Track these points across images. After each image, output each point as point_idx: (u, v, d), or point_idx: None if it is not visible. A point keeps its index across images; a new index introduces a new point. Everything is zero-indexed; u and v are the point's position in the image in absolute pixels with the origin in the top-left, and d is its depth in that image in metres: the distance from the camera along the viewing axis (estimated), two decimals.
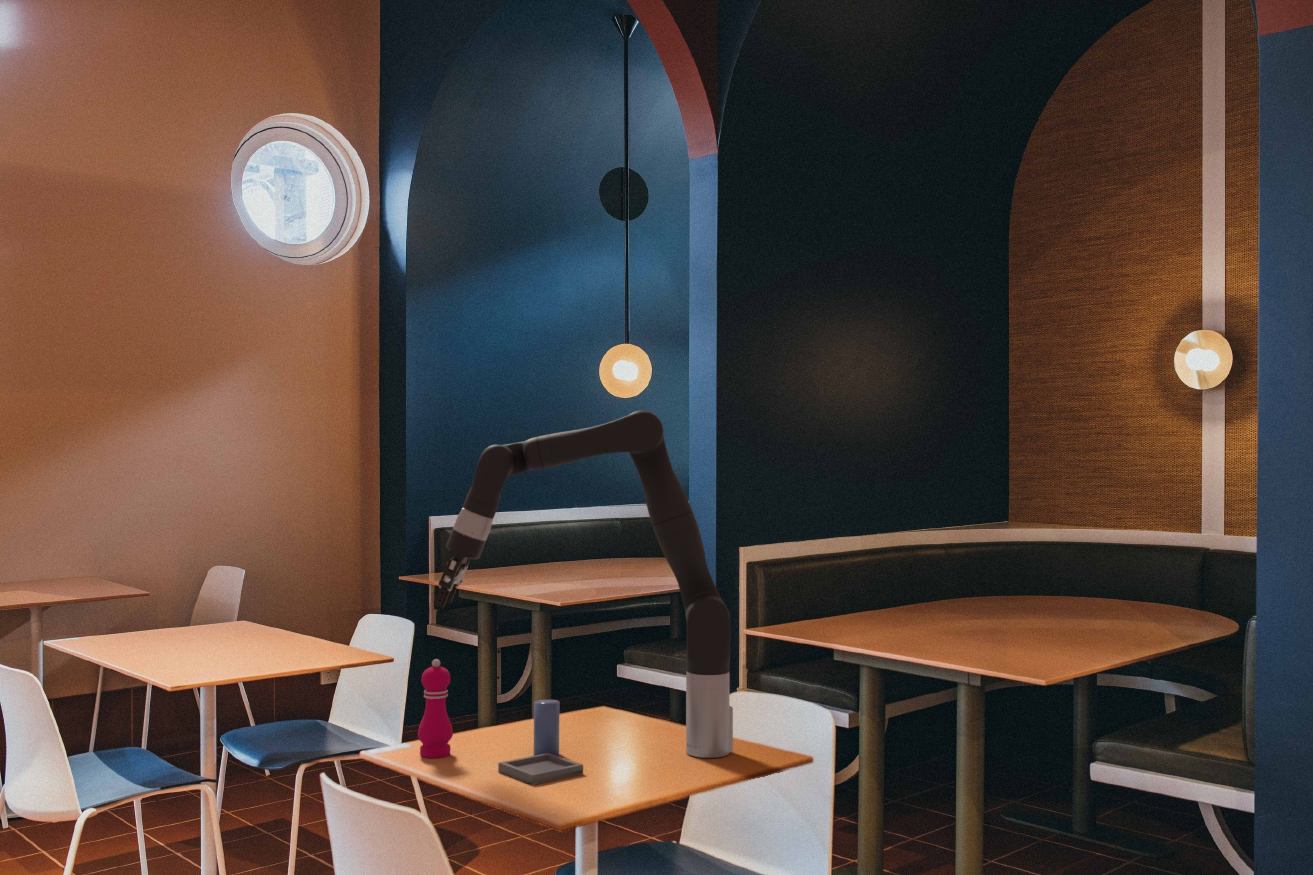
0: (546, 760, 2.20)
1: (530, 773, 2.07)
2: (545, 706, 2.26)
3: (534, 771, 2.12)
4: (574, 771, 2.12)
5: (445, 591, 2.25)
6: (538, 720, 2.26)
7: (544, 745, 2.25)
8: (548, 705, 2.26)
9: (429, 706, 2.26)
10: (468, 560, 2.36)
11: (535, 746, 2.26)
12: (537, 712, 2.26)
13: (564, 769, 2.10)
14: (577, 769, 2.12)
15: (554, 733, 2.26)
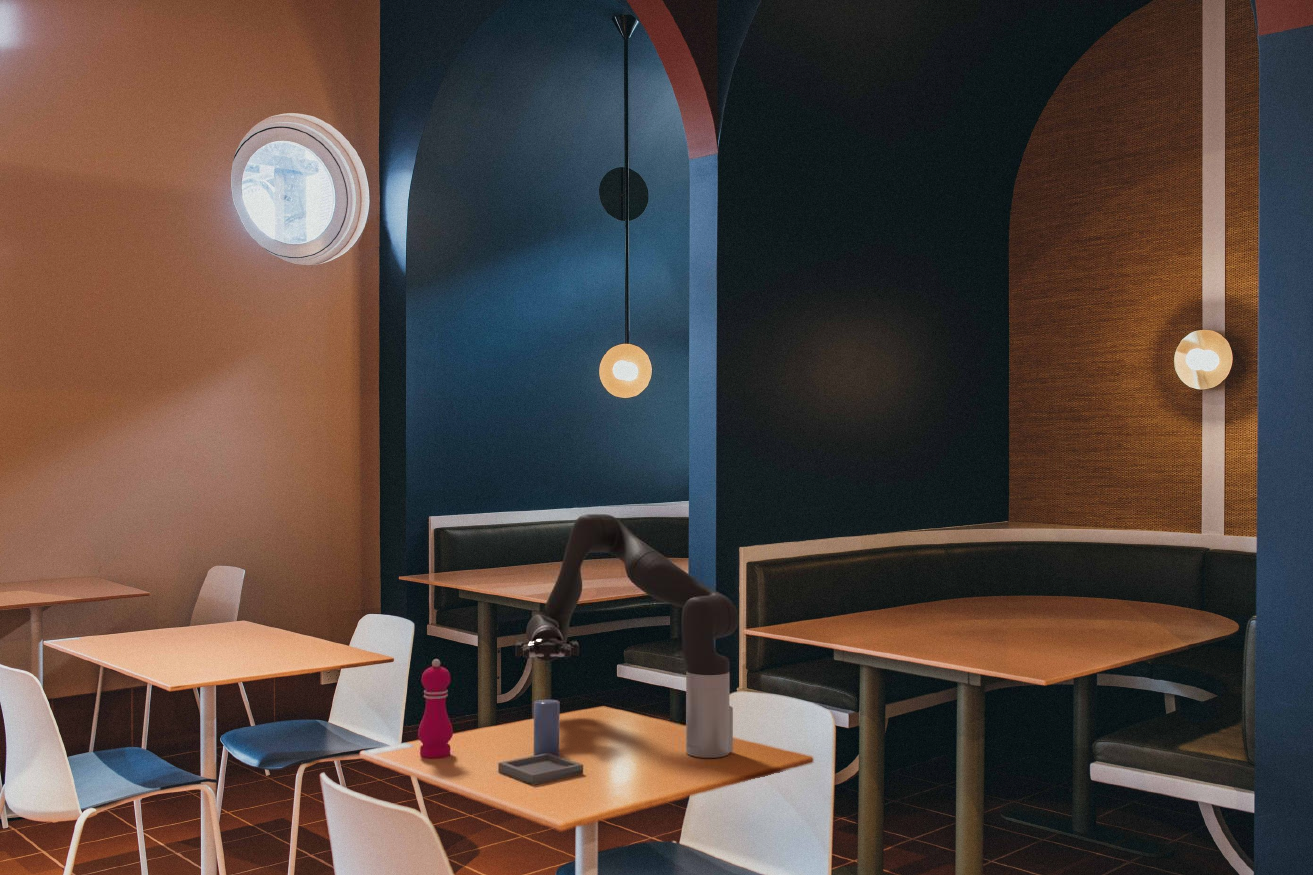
0: (546, 760, 2.20)
1: (530, 773, 2.07)
2: (545, 706, 2.26)
3: (534, 771, 2.12)
4: (574, 771, 2.12)
5: (523, 649, 2.43)
6: (538, 720, 2.26)
7: (544, 745, 2.25)
8: (548, 705, 2.26)
9: (429, 706, 2.26)
10: None
11: (535, 746, 2.26)
12: (537, 712, 2.26)
13: (564, 769, 2.10)
14: (577, 769, 2.12)
15: (554, 733, 2.26)
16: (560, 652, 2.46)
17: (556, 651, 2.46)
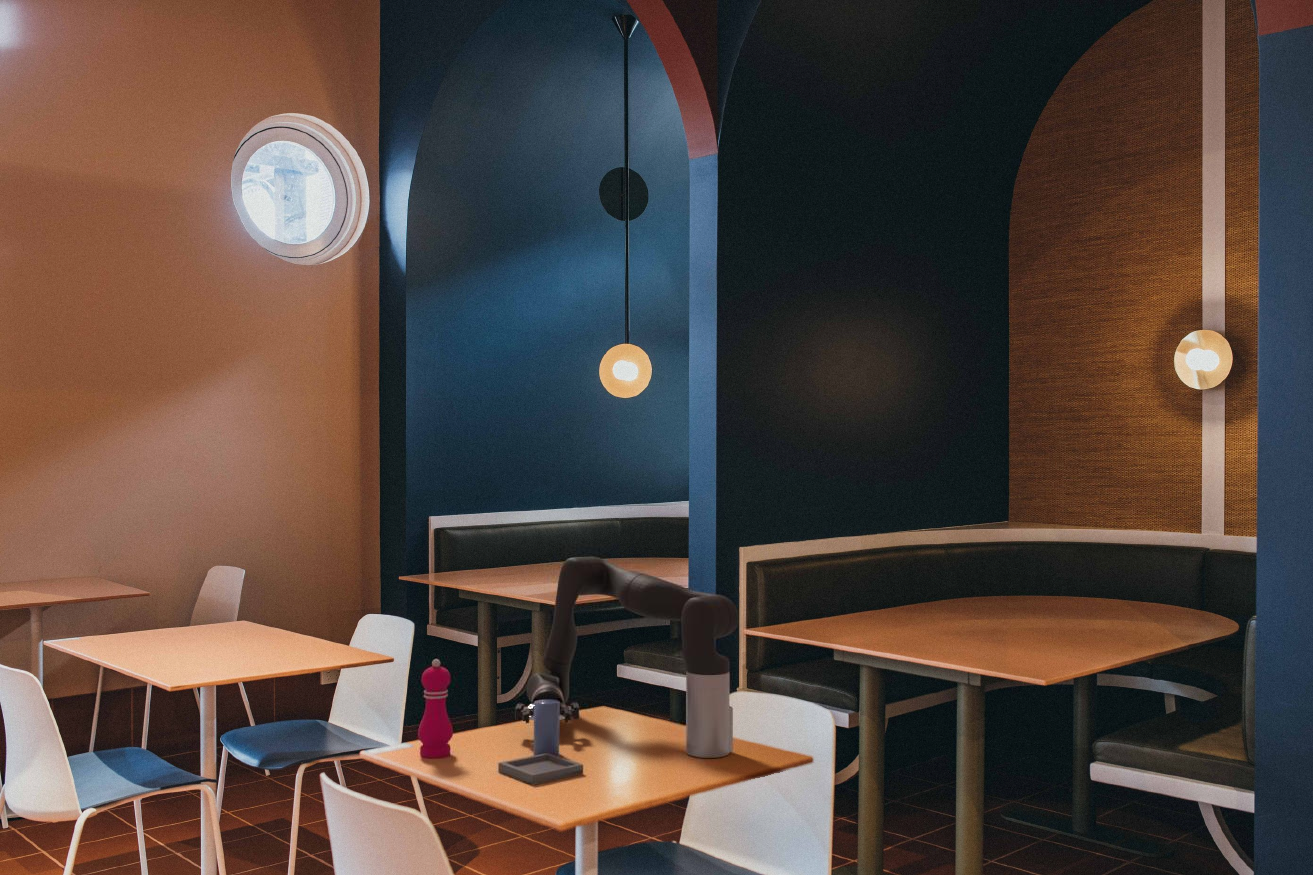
0: (546, 760, 2.20)
1: (530, 773, 2.07)
2: (545, 706, 2.26)
3: (534, 771, 2.12)
4: (574, 771, 2.12)
5: (522, 713, 2.39)
6: (538, 720, 2.26)
7: (544, 745, 2.25)
8: (548, 705, 2.26)
9: (429, 706, 2.26)
10: (572, 703, 2.46)
11: (535, 746, 2.26)
12: (537, 712, 2.26)
13: (564, 769, 2.10)
14: (577, 769, 2.12)
15: (554, 733, 2.26)
16: (561, 715, 2.41)
17: None
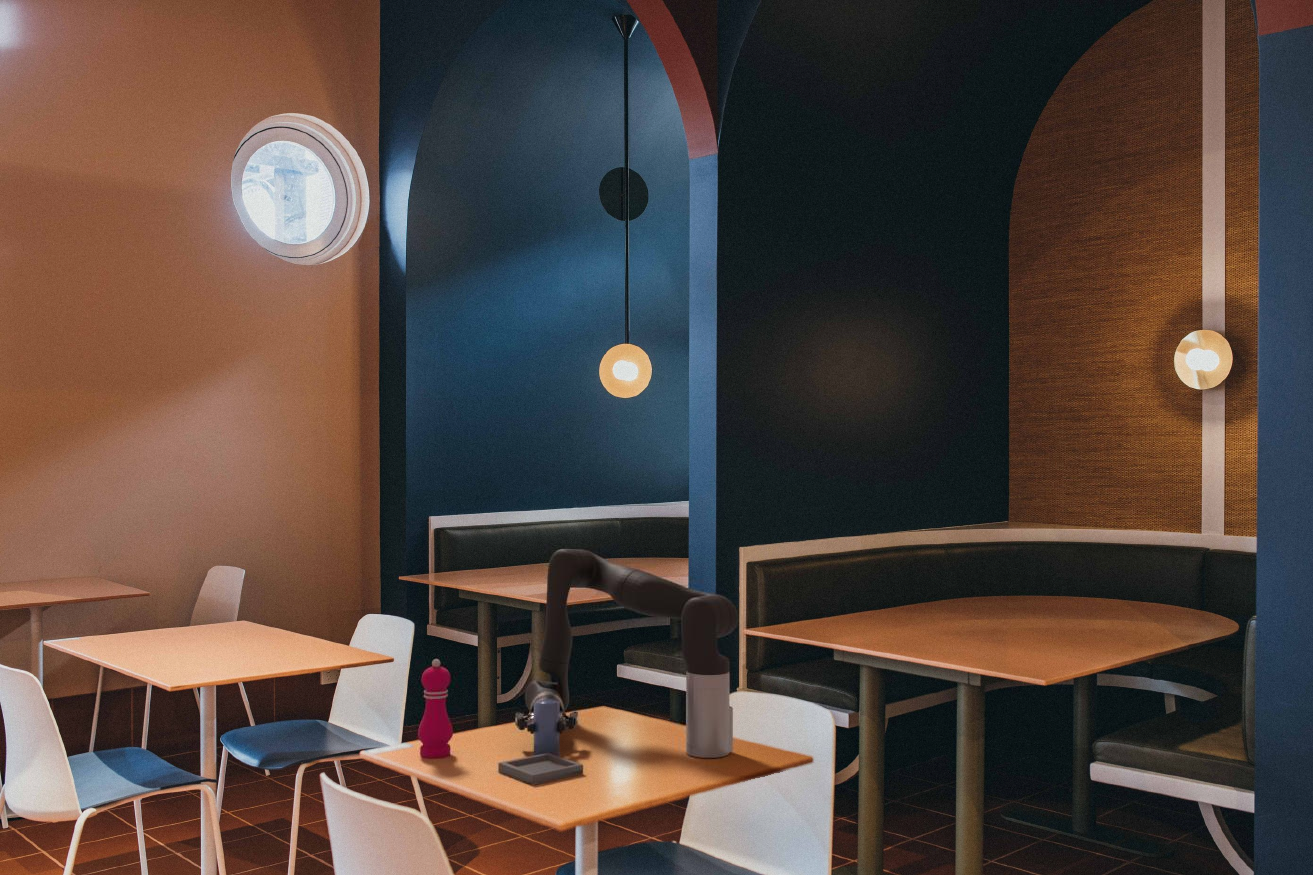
0: (546, 760, 2.20)
1: (530, 773, 2.07)
2: (545, 706, 2.26)
3: (534, 771, 2.12)
4: (574, 771, 2.12)
5: (527, 722, 2.29)
6: (538, 720, 2.26)
7: (544, 745, 2.25)
8: (548, 705, 2.26)
9: (429, 706, 2.26)
10: (572, 712, 2.36)
11: (535, 746, 2.26)
12: (537, 712, 2.26)
13: (564, 769, 2.10)
14: (577, 769, 2.12)
15: (554, 733, 2.26)
16: None
17: None
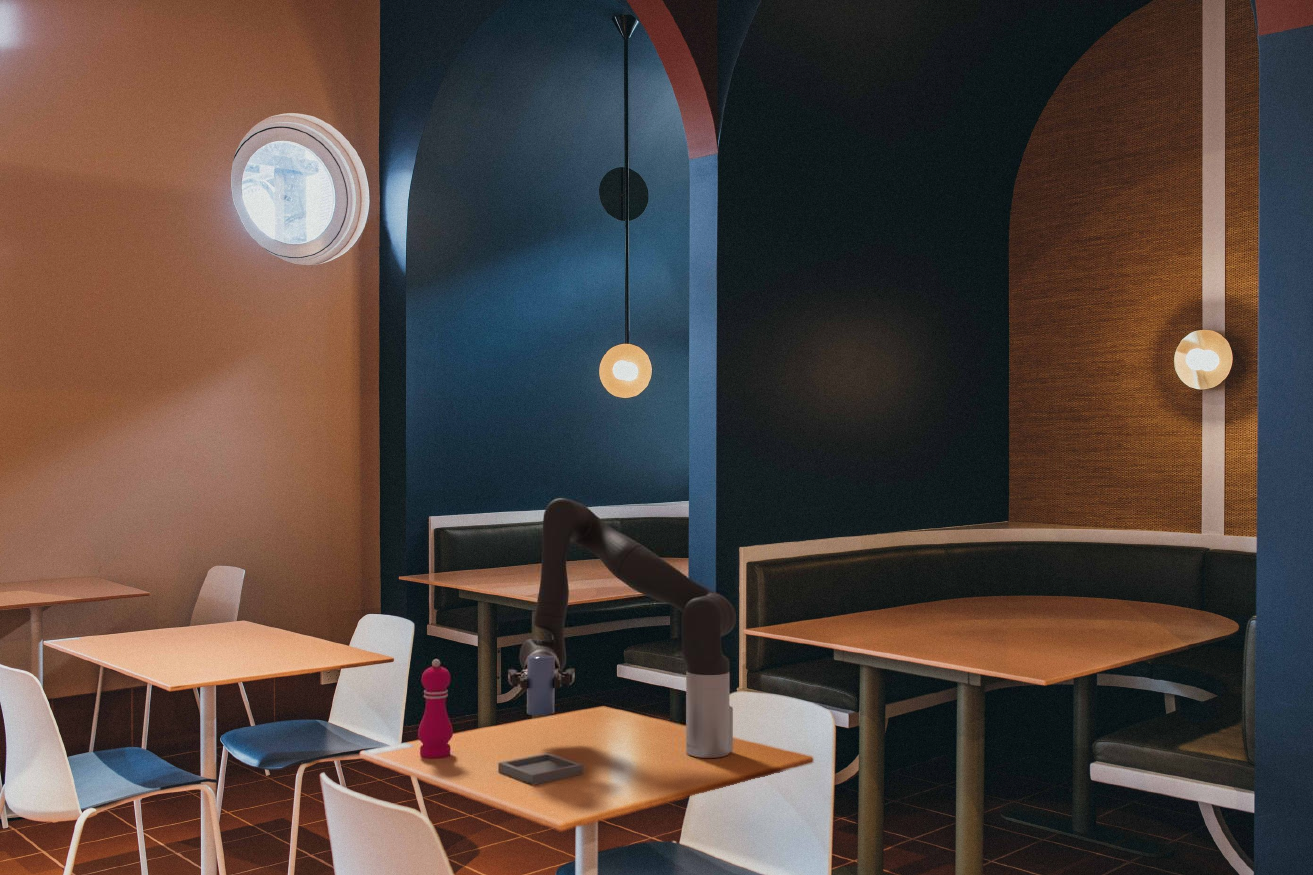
0: (546, 760, 2.20)
1: (530, 773, 2.07)
2: (539, 660, 2.12)
3: (534, 771, 2.12)
4: (574, 771, 2.12)
5: (520, 679, 2.15)
6: (531, 675, 2.12)
7: (538, 702, 2.12)
8: (542, 659, 2.12)
9: (429, 706, 2.26)
10: (568, 669, 2.22)
11: (528, 703, 2.13)
12: (530, 667, 2.13)
13: (564, 769, 2.10)
14: (577, 769, 2.12)
15: (549, 689, 2.13)
16: None
17: None
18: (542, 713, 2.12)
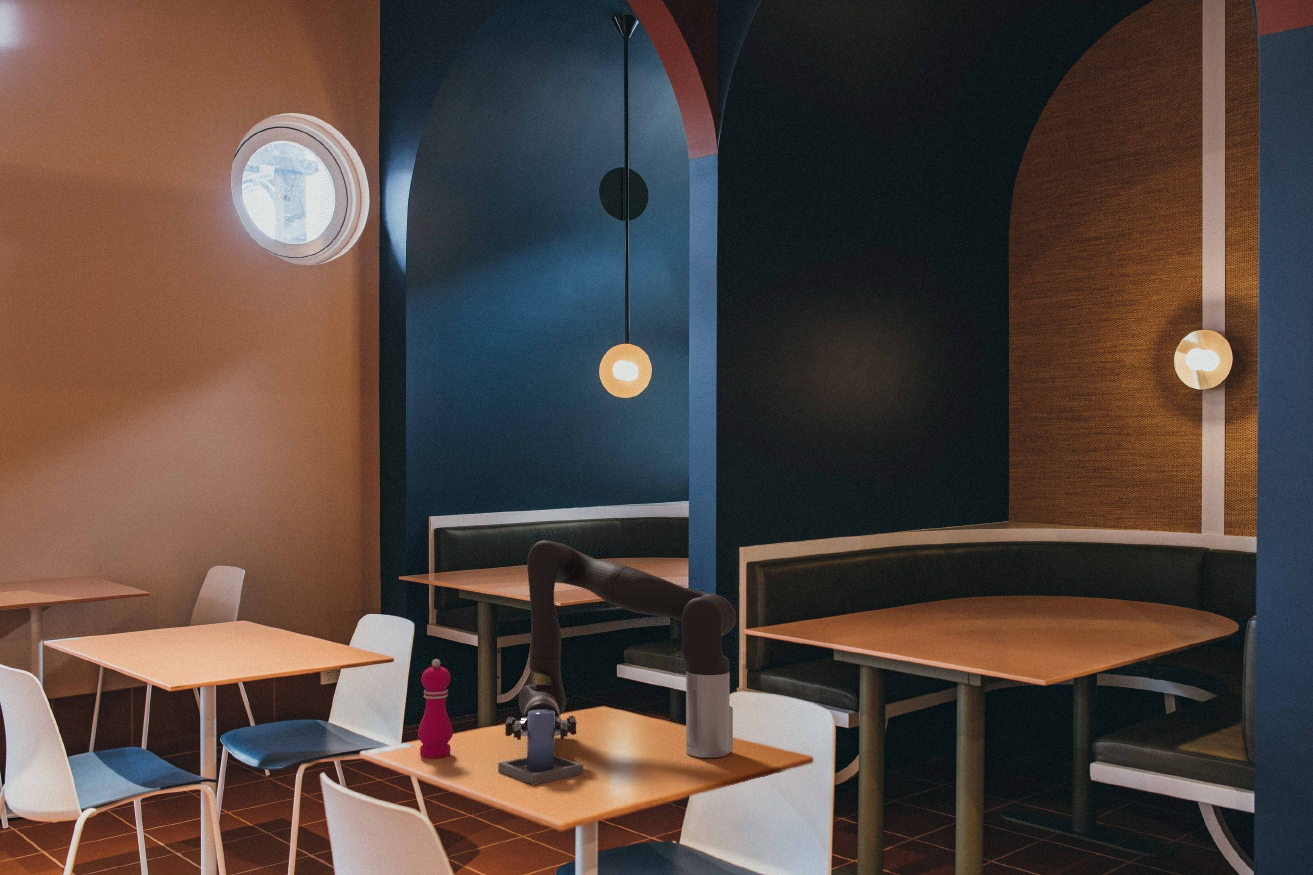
0: None
1: (530, 773, 2.07)
2: (540, 716, 2.12)
3: None
4: (574, 771, 2.12)
5: (513, 728, 2.15)
6: (532, 731, 2.12)
7: (538, 758, 2.11)
8: (543, 715, 2.12)
9: (429, 706, 2.26)
10: None
11: (528, 759, 2.12)
12: (531, 723, 2.12)
13: (564, 769, 2.10)
14: (577, 769, 2.12)
15: (549, 745, 2.12)
16: (556, 730, 2.18)
17: None
18: (542, 769, 2.11)
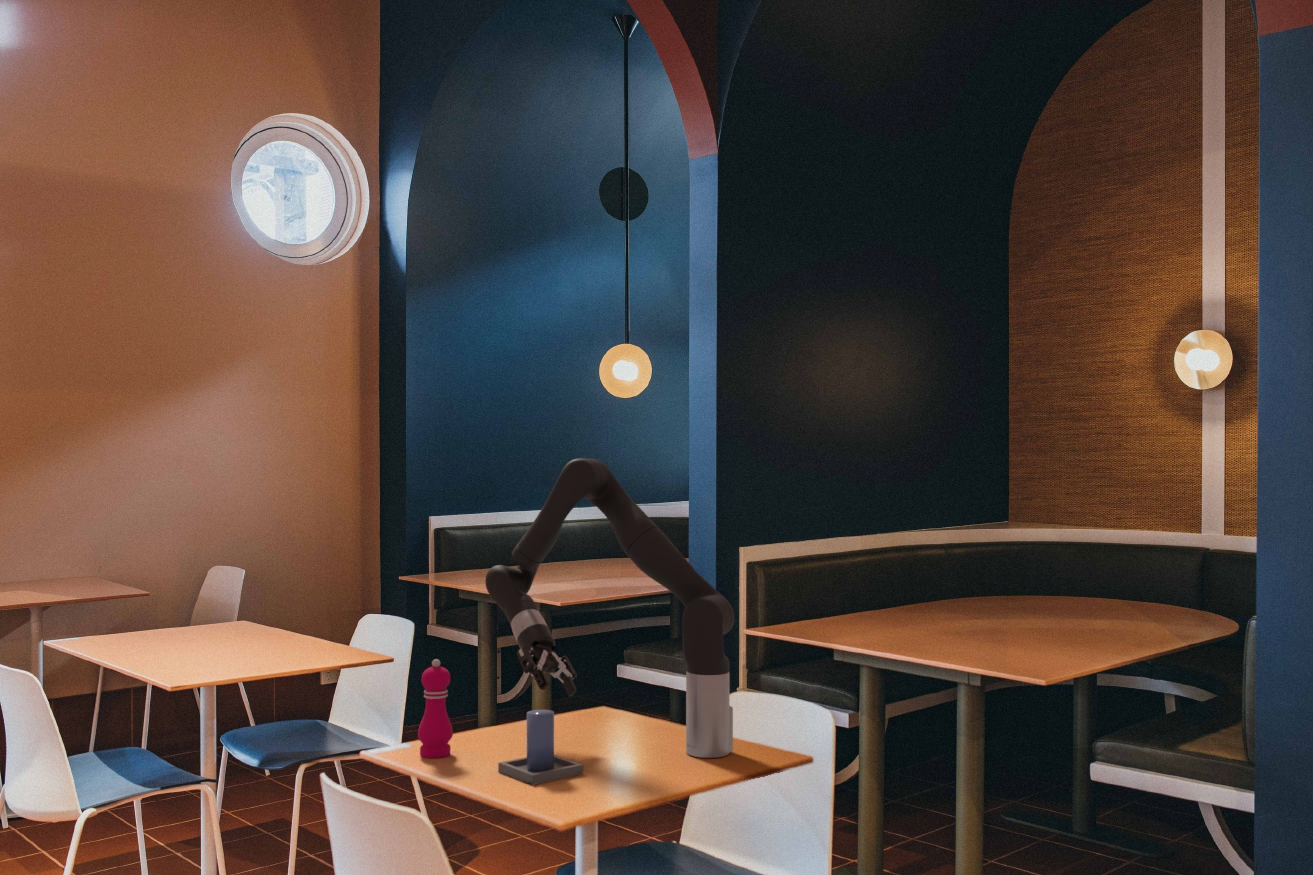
0: None
1: (530, 773, 2.07)
2: (539, 717, 2.11)
3: None
4: (574, 771, 2.12)
5: (536, 672, 2.28)
6: (531, 732, 2.12)
7: (538, 758, 2.11)
8: (542, 716, 2.12)
9: (429, 706, 2.26)
10: (563, 656, 2.40)
11: (528, 760, 2.12)
12: (530, 724, 2.12)
13: (564, 769, 2.10)
14: (577, 769, 2.12)
15: (549, 745, 2.12)
16: (557, 674, 2.36)
17: (553, 670, 2.36)
18: (542, 770, 2.11)
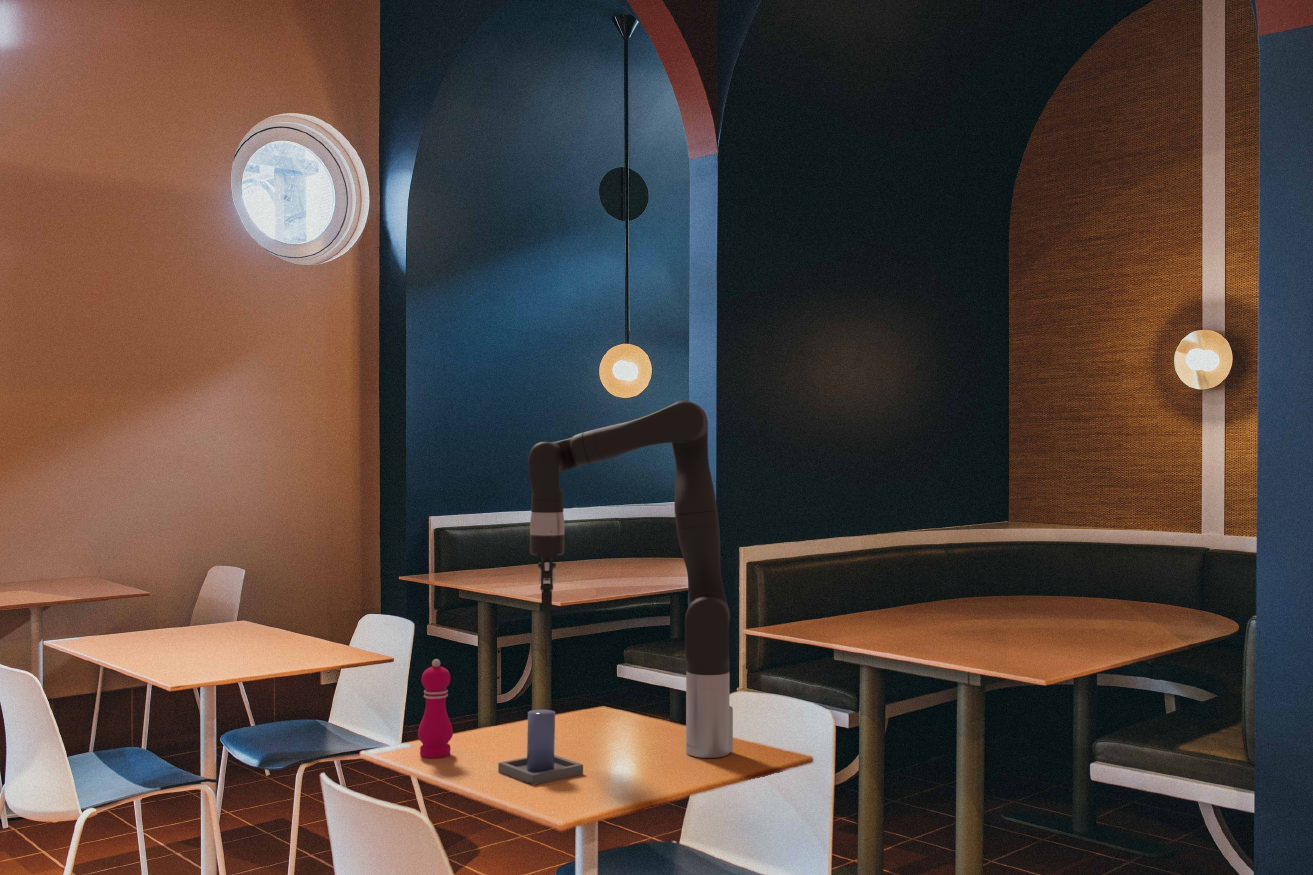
0: None
1: (530, 773, 2.07)
2: (540, 717, 2.12)
3: None
4: (574, 771, 2.12)
5: (548, 593, 2.31)
6: (532, 731, 2.12)
7: (538, 758, 2.11)
8: (543, 716, 2.12)
9: (429, 706, 2.26)
10: (552, 559, 2.42)
11: (529, 759, 2.12)
12: (531, 723, 2.12)
13: (564, 769, 2.10)
14: (577, 769, 2.12)
15: (549, 745, 2.12)
16: None
17: None
18: (542, 769, 2.11)
